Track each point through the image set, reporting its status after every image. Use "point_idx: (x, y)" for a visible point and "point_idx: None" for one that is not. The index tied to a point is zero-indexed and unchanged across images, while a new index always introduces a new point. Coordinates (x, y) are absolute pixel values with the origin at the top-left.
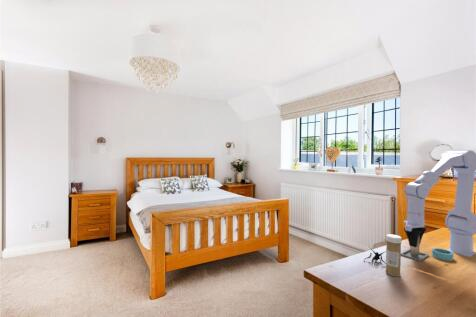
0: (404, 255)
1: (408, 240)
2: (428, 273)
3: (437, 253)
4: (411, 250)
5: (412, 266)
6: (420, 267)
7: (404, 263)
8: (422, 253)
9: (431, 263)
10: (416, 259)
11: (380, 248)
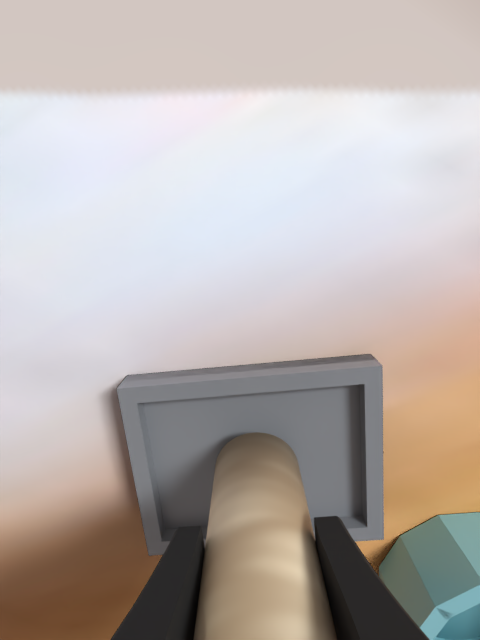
0: (126, 429)
1: (144, 591)
2: (13, 632)
3: None
4: (213, 488)
5: (17, 531)
6: (64, 567)
7: (8, 472)
8: (367, 495)
9: None
10: (145, 524)
11: (161, 106)
